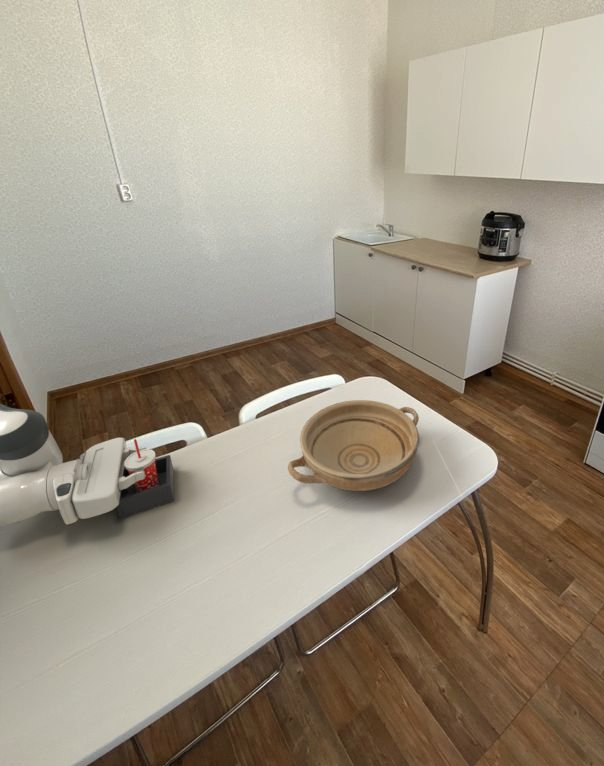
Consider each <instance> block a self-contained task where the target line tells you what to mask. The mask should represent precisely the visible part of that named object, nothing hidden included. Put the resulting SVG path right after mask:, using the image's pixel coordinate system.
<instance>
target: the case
mask: <svg viewBox="0 0 604 766" xmlns="http://www.w3.org/2000/svg"><path fill="white" fill-rule="evenodd" d="M155 463H156V470H157V476H158V482H159V486H156V487H153V488H150V489H147V490H144V491H140V492H137V493H136V490H135V488H134V485H133V484H132V485H131V486H129V487H128V488H126V489H123V490H121V493H120V500H119V505H118V506H117V507H116V510H117V512H118V516H119V519H120V520H123V519H125V518H128V517H131V516H134V515H137V514H141V513H143V512H146V511H150V510H153V509H156V508H160V507H162V506H165V505H168V504H172V503H174V502H175V470H174V465H173V461H172V457H171V454H168V455H167V454H166V455H164V456H161V457H157V458H155ZM124 476H125V478H126V477H128V476H130V475H129V472H128V470H127V469H126V468H125V467H124V473H123V477H124Z"/></svg>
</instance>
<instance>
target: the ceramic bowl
mask: <svg viewBox="0 0 604 766" xmlns="http://www.w3.org/2000/svg"><path fill="white" fill-rule="evenodd" d="M408 414H411V415H412V416H413V419H412V418H411V417H410V416H409V415H408ZM419 420H420V417H419V414H418V412H417V411H416V410H415V409H414V408H412V407H409V406H403V407H400V408H397V407H395V406H393V405H390V404H388V403H385V402H381V401H376V400H369V399H354V400H353V399H352V400H345V401H341V402H337V403H334V404H331V405H328V406H326V407H324V408H322V409H320V410H318V411H317V412H316V413H313V415H312V416H311V417H310V418H309V419H308V420H307V421H306V422H305V424H304V425H303V427H302V429H301V432H300V437H299V444H300V450H301V454H302V455H301V457H300V458H297V459H293V460H291V461H290V462H289V463H288V464H287V471H288V473H289V475H290V476H291V477H292V478H293V479H295V480H296V481H297V482H299V483H301V484H302V483H303V484H308V485H311V484H327V485H329V486H331V487H333V488H336V489H339V490H343V491H349V492H368V491H373V490H375V491H376V490H378V489H382V488H384V487H387V486H388V485H391V484H392V483H395V482H396V481H397V480H398V479H400V478H401V477H402V476H404V475H405V474H406V472H408V471H409V470H410V468H411V466H412V464H413V463H414V461H415V459H416V456H417V452H418V447H419V443H420V435H419V431H418V427H417V426H418V423H419ZM301 467H303V468H308V469H309V470H310V471H311V473H312V474H311V475H309V474H303V473H300V472H299V471H297V470H296V469H295V468H301Z"/></svg>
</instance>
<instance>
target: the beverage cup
mask: <svg viewBox="0 0 604 766" xmlns="http://www.w3.org/2000/svg"><path fill="white" fill-rule="evenodd" d="M133 443H134V446H135V447H134V448H136V450H137V451H136V452H135V453H133V454H131V455H130V456H129V457H127V459H126V460H125V462H124V464H125V466H124V468H126V469H127V470H128V472H129V475H131V474H133V473H135V470H138V469H142V468H143V469H144V470H145V478H144V479H142V480H139V481H136V482H135V483H134V484H133V485H134V488H135V490H136V493H137V492H140V491H144V490H147V489H150V488H153V487H156V486H159V482H158V476H157V470H156V463H155V459H157V458H156V457H157V456H156V452H155V451H154V450H153V449H150V448H146V449H143V450H140V451H139V448H140V447H139V444H138V441H137V439H133Z"/></svg>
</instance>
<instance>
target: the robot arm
mask: <svg viewBox="0 0 604 766" xmlns="http://www.w3.org/2000/svg"><path fill="white" fill-rule="evenodd" d="M138 448H139V451H140V450H143V449H147V447H146V446H142V447H138ZM136 451H137V450H136V447H128V446H127V442H126V439H125V438H124V437H116V438H112V439H108V440H106V441H103V442H99V443H96V444H95V445H92V446H90V447H89V448H88V449H87V450H86V451H84V452H83V453H82V454H80V455H79V458H77V459H74V460H69V461H65V462H64V457H63V452H62V451H61V448H60V447H59V445H58V443H57V441H56V439H55V437H54V436H53V434H52V433H51V430H50V429H49V426H48V423H47V420H46V418H45V416H44V415H43V414H42V413H41V412H39V411H36V410H31V409H23V408H13V407H10V406H7V405H5V404H3V403H0V527H2V526H7V525H10V524H15V523H18V522H21V521H25V520H28V519H30V518H33V517H35V516H37V515H39V514H40V513H41V514H42V513H44V512H53V511H57V510H59V513H60V515H61V518H62V520H63V522H64V524H65V525H71V524H73V523H76V522H77V521H78V520H79V519H81V520H86V519H90V518H94V517H97V516H100V515H103V514H106V513H109V512H111V511H113V510H114V509H117V506H118V505H119V500H120V493H121V490H123V489H126V488H128V487H129V486H131V485H132V484H134V483H135V482H136V481H139V480H142V479H144V478H145V470H144V469H143V468H142V469H138V470H135V473H133V474H131V475H130V476H128V477H126V478H125V476H124V477H123V473H124V468H125V464H124V462H125V460H126V459H127V457H129V456H130V455H131V454H133V453H135V452H136Z"/></svg>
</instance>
